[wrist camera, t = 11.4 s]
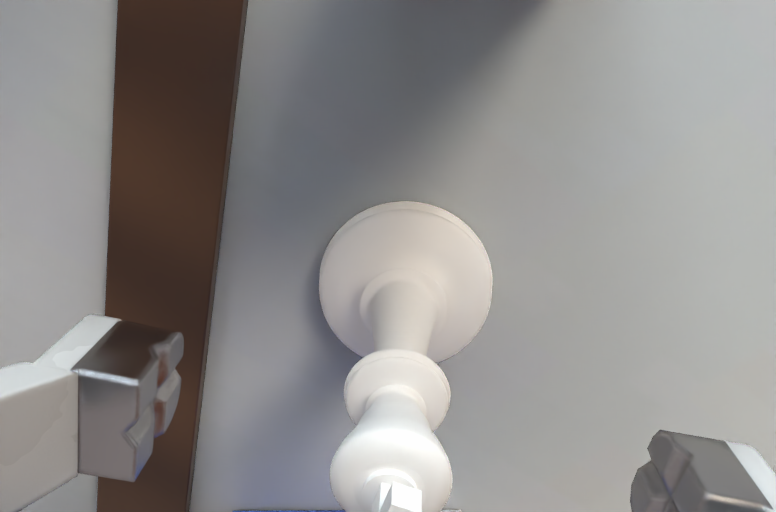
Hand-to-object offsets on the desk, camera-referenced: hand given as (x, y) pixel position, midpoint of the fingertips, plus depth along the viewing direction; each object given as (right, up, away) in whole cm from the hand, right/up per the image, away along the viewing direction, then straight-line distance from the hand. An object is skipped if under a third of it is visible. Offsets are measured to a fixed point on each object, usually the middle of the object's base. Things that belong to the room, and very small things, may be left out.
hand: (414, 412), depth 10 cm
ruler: (-7, +3, +7) cm, 10 cm away
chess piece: (0, +2, +7) cm, 7 cm away
